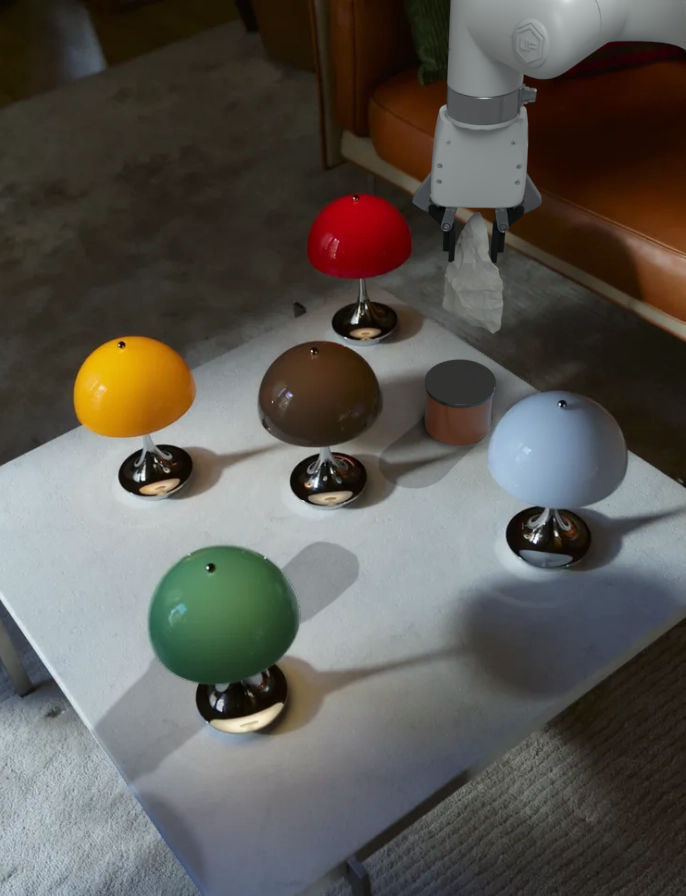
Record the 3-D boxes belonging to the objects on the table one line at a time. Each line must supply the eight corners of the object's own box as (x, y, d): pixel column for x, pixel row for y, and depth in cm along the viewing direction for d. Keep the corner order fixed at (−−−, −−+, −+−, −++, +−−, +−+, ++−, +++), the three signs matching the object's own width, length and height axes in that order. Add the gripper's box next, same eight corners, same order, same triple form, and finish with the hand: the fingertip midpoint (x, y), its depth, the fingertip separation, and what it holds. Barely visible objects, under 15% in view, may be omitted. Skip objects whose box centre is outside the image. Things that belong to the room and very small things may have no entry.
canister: (492, 402, 136) (496, 360, 130) (491, 448, 129) (496, 406, 124) (425, 399, 137) (426, 357, 131) (420, 444, 130) (422, 402, 125)
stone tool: (434, 319, 118) (445, 208, 107) (448, 308, 119) (460, 197, 109) (492, 345, 114) (510, 232, 103) (506, 334, 115) (525, 221, 105)
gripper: (566, 84, 98) (545, 240, 111) (403, 84, 100) (402, 237, 114) (569, 116, 93) (547, 276, 106) (398, 116, 95) (397, 272, 108)
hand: (472, 254), depth 110 cm, fingers closed on stone tool, 4 cm apart
